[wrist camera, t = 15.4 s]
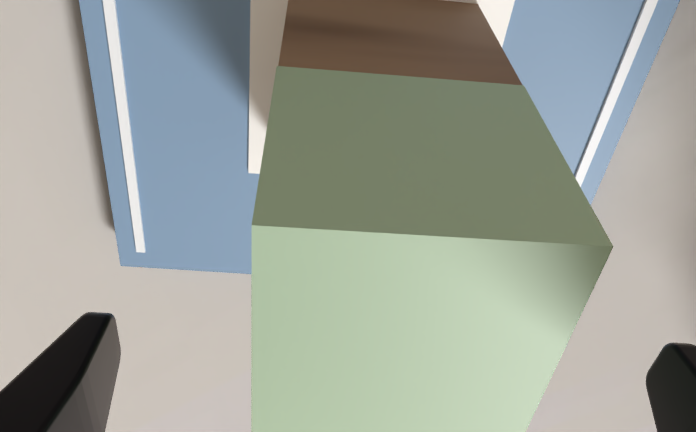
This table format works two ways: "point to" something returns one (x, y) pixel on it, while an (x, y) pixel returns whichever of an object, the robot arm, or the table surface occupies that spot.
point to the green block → (412, 256)
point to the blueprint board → (256, 92)
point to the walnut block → (395, 39)
